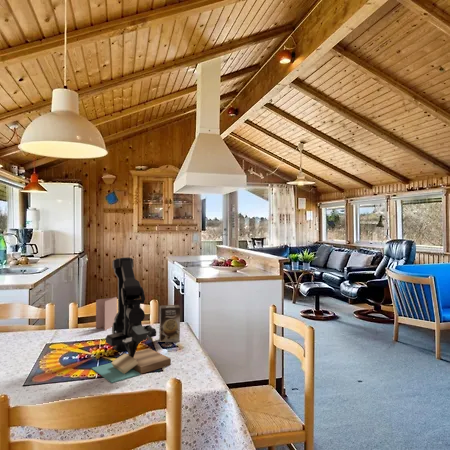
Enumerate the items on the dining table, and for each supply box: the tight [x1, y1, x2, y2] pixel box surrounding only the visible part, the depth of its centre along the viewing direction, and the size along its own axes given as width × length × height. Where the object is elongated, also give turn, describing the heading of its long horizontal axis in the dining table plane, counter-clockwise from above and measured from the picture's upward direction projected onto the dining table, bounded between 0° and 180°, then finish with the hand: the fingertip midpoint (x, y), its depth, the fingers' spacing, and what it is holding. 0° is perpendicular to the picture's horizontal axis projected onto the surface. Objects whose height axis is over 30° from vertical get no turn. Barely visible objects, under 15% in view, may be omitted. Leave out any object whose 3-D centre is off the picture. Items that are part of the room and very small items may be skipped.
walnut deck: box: [126, 347, 172, 375], centre depth 147 cm, size 16×13×2 cm
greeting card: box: [95, 296, 118, 331], centre depth 197 cm, size 11×7×15 cm, turn 130°
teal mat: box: [91, 362, 141, 384], centre depth 139 cm, size 17×11×1 cm, turn 42°
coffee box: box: [158, 304, 181, 343], centre depth 176 cm, size 9×6×16 cm
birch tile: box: [110, 353, 138, 374], centre depth 141 cm, size 9×6×2 cm, turn 43°
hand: (131, 358), depth 143 cm, fingers closed
